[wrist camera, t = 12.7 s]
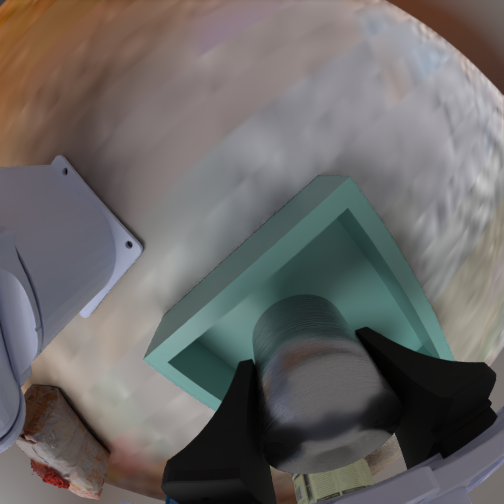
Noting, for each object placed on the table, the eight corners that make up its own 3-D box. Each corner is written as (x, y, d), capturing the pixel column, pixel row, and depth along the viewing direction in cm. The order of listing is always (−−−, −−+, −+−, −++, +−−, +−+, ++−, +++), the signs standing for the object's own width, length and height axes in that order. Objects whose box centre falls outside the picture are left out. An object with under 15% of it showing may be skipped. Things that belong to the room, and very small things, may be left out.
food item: (122, 458, 24) (105, 516, 14) (78, 450, 24) (58, 499, 14) (64, 385, 20) (24, 451, 11) (23, 380, 20) (-15, 431, 11)
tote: (162, 316, 18) (143, 359, 13) (318, 175, 16) (350, 176, 11) (311, 426, 22) (322, 464, 17) (427, 337, 20) (457, 367, 15)
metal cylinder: (259, 378, 15) (271, 482, 8) (244, 303, 13) (252, 415, 6) (343, 360, 15) (389, 451, 8) (343, 285, 13) (416, 371, 6)
